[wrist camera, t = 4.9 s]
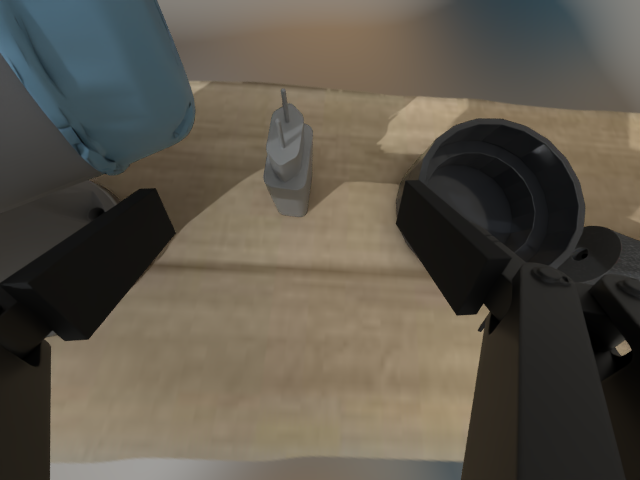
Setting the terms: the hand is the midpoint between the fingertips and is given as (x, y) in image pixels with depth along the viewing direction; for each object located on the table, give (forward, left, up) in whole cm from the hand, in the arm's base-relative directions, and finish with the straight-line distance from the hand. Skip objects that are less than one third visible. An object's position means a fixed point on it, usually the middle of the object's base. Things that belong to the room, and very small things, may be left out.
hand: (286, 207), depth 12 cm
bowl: (+16, +8, -11) cm, 20 cm away
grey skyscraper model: (-2, +5, -11) cm, 12 cm away
